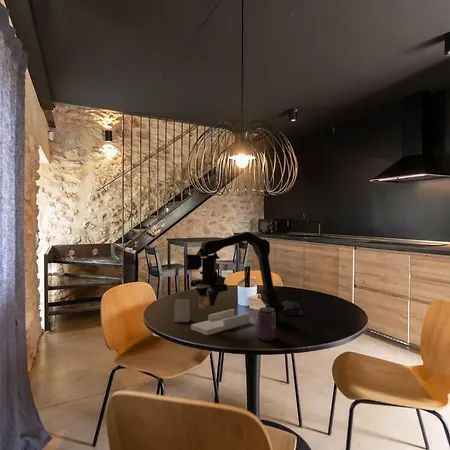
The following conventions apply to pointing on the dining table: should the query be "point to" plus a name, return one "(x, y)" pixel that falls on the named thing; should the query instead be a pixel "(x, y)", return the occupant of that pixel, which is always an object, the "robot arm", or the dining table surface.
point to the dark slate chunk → (291, 308)
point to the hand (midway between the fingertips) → (208, 304)
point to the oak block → (205, 302)
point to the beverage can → (267, 324)
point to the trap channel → (221, 322)
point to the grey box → (181, 311)
